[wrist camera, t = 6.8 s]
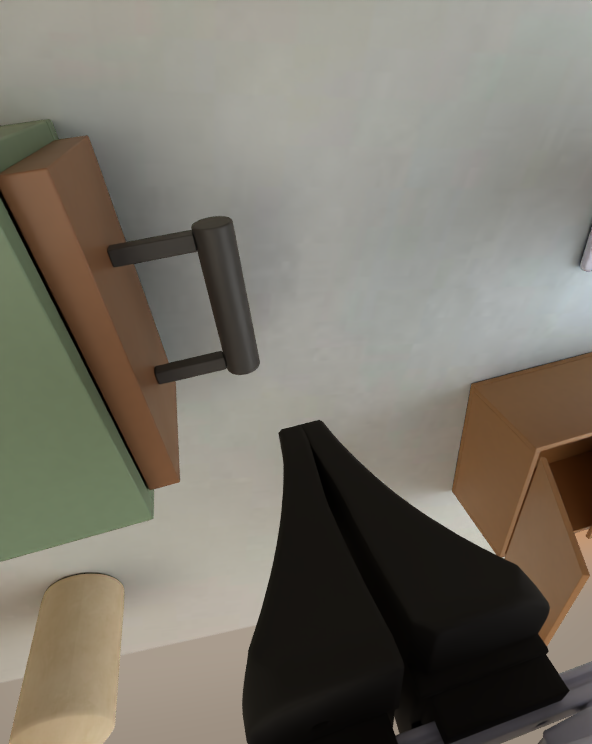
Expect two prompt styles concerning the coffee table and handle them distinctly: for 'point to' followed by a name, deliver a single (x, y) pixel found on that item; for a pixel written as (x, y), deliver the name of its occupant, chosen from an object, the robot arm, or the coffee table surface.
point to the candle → (73, 664)
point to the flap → (548, 549)
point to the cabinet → (52, 408)
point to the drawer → (123, 294)
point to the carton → (526, 446)
